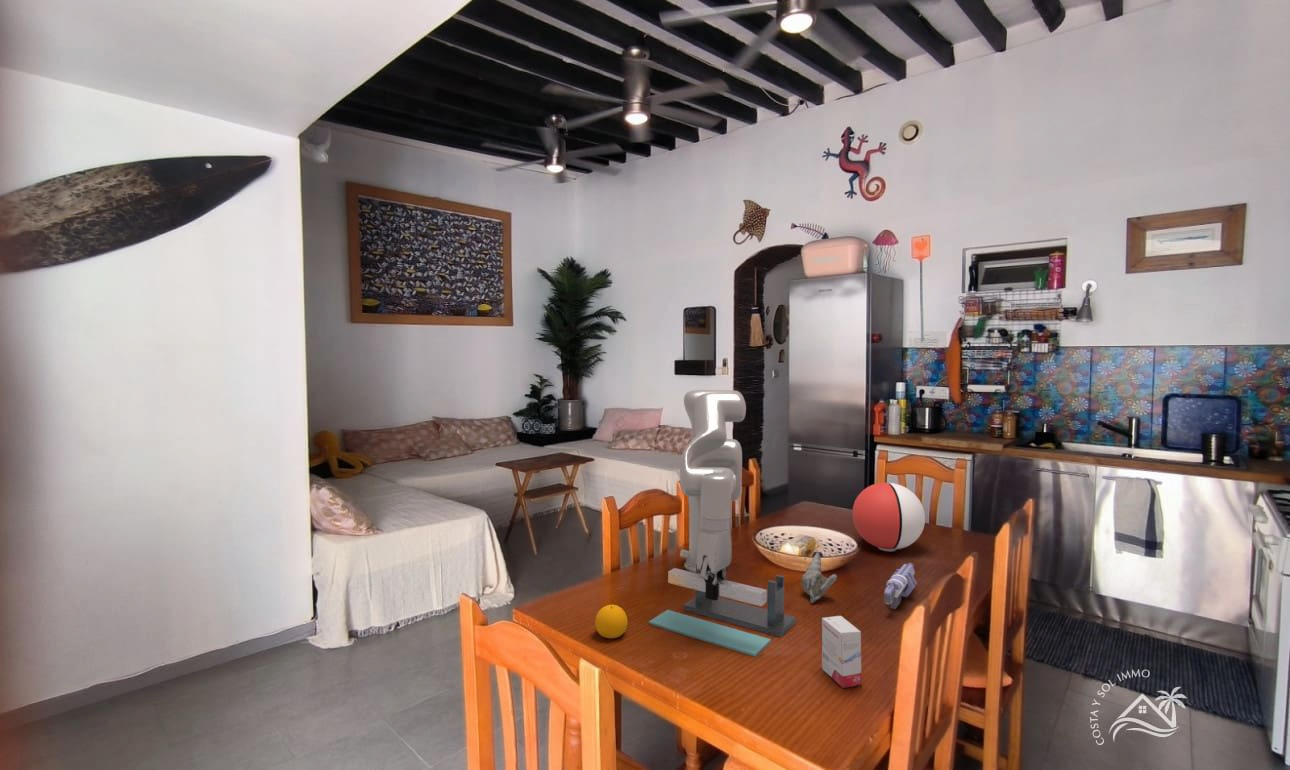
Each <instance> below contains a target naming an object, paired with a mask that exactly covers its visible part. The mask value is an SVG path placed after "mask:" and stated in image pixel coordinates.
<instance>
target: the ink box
mask: <svg viewBox="0 0 1290 770" xmlns="http://www.w3.org/2000/svg"><path fill="white" fill-rule="evenodd" d="M861 636H862V631H861V630H859V628H857V627H856V626H855V625H853V624H852V623H851V622H850V621H849V620H847V619H845V618H844V617H843V616H842V615H833V616H828V617H826V616H825V617H822V618H821V638H822V639H821V641H822V642H821V648H822V649H821V651H822V652H821V667H822V668H821V669H822V670H823V671H824V672H825V673H826V674H827V675H828V676H830V678H832V679H833V680H834V681H835V682H836V683H837V684H838V685H839V686H840V687H841V688H843V689H845V688H850V687H855V686H860V685H862V684H863V683H862V637H861Z"/></svg>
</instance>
